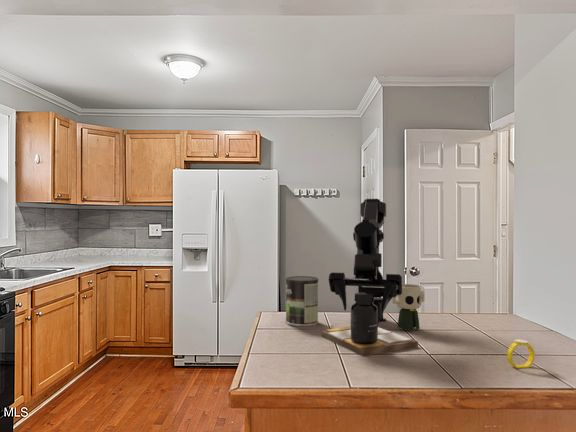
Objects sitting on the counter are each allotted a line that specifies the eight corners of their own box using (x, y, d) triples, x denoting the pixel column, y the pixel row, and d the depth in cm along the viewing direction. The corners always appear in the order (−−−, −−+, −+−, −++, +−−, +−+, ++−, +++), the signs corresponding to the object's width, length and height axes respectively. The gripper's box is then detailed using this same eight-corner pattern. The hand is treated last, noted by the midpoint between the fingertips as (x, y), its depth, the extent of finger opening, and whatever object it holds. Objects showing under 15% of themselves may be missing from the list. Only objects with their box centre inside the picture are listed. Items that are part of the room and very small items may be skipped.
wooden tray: (371, 329, 134) (371, 323, 134) (418, 347, 116) (417, 339, 116) (321, 336, 127) (321, 329, 127) (362, 355, 109) (362, 348, 109)
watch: (527, 365, 102) (529, 339, 102) (536, 369, 100) (538, 342, 100) (504, 365, 101) (505, 338, 101) (512, 369, 98) (514, 342, 99)
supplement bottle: (377, 345, 110) (376, 296, 110) (349, 343, 112) (348, 295, 112) (378, 338, 117) (378, 292, 117) (352, 336, 119) (352, 291, 119)
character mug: (399, 334, 129) (399, 288, 129) (386, 328, 135) (386, 284, 135) (431, 331, 132) (431, 286, 132) (417, 325, 139) (417, 283, 139)
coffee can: (287, 327, 137) (287, 280, 138) (284, 319, 148) (284, 276, 148) (321, 326, 139) (321, 280, 139) (315, 318, 149) (315, 275, 149)
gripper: (329, 242, 121) (322, 290, 110) (401, 242, 116) (401, 293, 105) (334, 268, 128) (327, 315, 117) (401, 270, 124) (401, 319, 113)
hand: (363, 310), depth 113 cm, fingers open, 9 cm apart
